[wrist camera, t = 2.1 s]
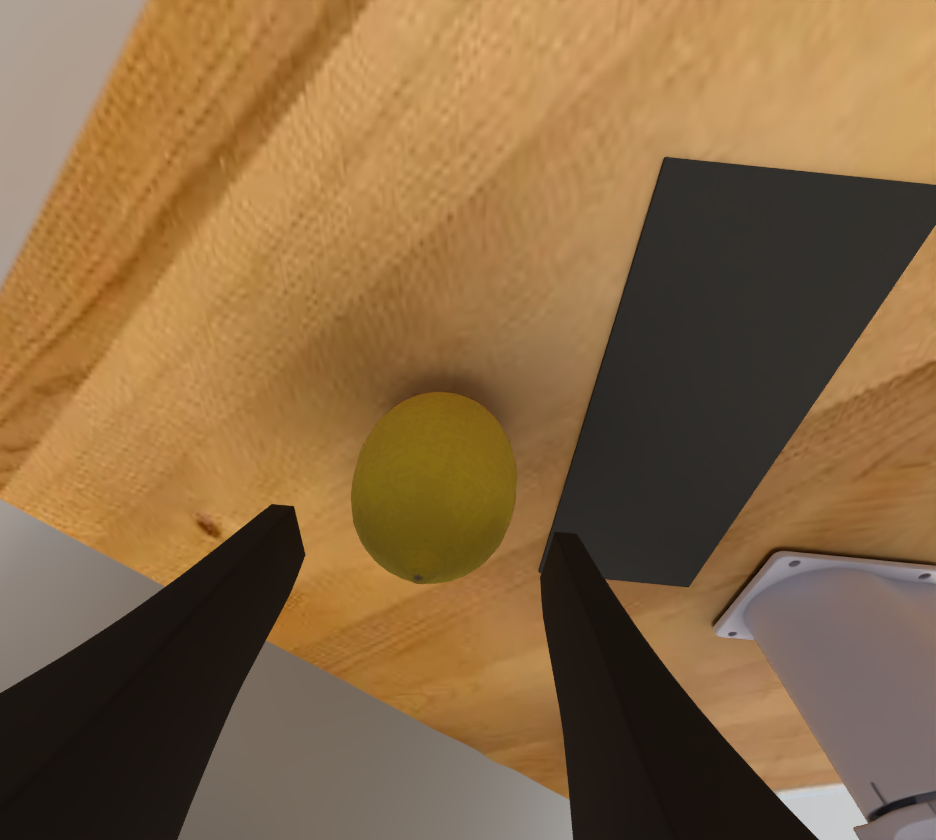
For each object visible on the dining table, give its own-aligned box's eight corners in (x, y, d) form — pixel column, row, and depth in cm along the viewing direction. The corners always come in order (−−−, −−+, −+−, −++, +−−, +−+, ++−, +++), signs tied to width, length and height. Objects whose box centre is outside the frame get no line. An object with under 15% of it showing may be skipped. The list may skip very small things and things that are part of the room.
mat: (957, 187, 11) (961, 187, 11) (687, 585, 21) (688, 587, 21) (664, 157, 11) (665, 156, 11) (538, 571, 21) (538, 572, 21)
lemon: (382, 356, 14) (288, 490, 8) (517, 364, 14) (544, 507, 8) (391, 463, 17) (328, 629, 11) (504, 470, 17) (515, 643, 10)
